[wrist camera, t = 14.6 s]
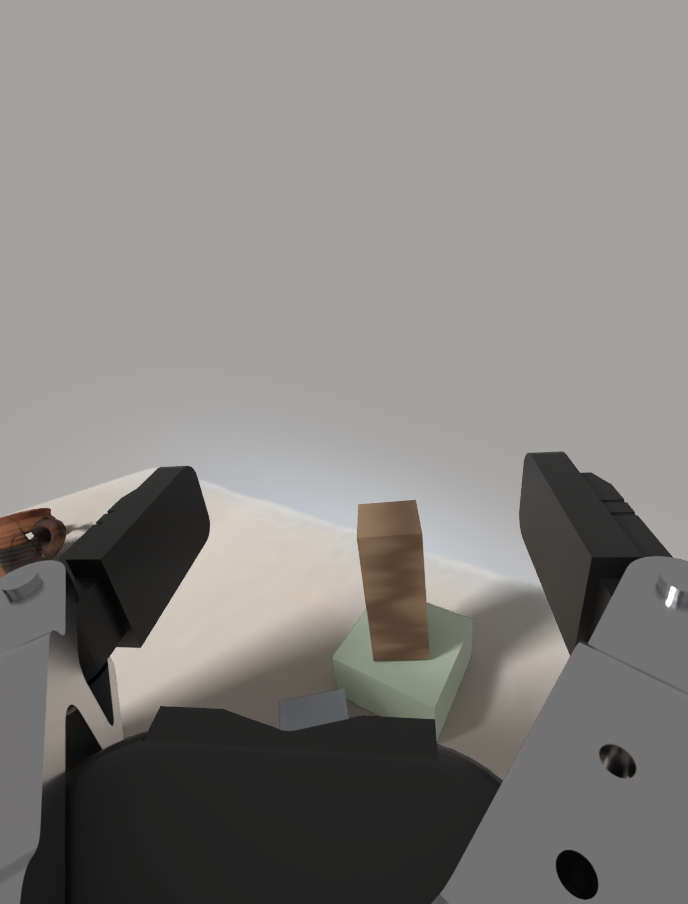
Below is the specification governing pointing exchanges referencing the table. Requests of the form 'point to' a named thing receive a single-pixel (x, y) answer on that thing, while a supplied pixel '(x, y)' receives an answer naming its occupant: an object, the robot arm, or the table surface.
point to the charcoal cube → (313, 710)
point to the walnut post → (393, 579)
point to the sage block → (407, 670)
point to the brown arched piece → (10, 549)
